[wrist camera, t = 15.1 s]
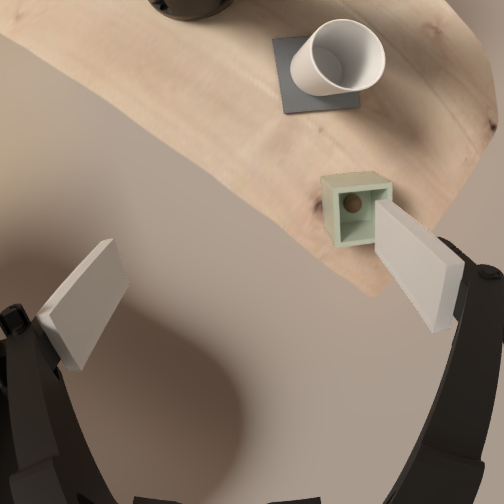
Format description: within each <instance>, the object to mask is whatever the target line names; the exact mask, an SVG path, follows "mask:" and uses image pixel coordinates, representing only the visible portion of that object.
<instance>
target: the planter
mask: <svg viewBox="0 0 504 504" xmlns="http://www.w3.org/2000/svg"><path fill="white" fill-rule="evenodd" d="M320 179H321V191H322V204H323V218H324V229H325V230H326V232H327V234H328V236H329V237H330V239H331V241H332V243H333V245H334V246H335V248H342V247H349V246H356V245H364V244H371V243H375V201H376V200H386V199H389V200H391V201H392V182H391V181H389V180H387V179H386V178H384V177H382V176H381V175H379V174H377V173H375V172H374V171H365V172H353V173H343V174H333V175H323V176H320ZM351 194H354V195H357V196H358V197H359V198H360V199H361V201H362V207H361V209H360V210H359V211H358V212H356V213H350V212H348V211H346V209H345V208H344V205H343V202H344V199H345V198H346V197H347V196H348V195H351Z"/></svg>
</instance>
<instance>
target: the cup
mask: <svg viewBox="0 0 504 504" xmlns="http://www.w3.org/2000/svg"><path fill="white" fill-rule="evenodd" d="M385 62H386V59H385V52H384V49H383V46H382V44H381V42H380V40H379V39H378V37H377V36H376V35H375V34H374V33H373V32H372V31H371V30H370V29H369V28H368V27H366V26H365V25H363V24H361V23H359V22H356V21H353V20H348V19H336V20H332V21H329V22H327V23H325V24H323V25H322V26H320V27H319V28H318V29H317V30H316V31H315V32H314V33H313V35H312V36H311V37H310V38H309V39H308V40H307V41H306V43H305V44H304V45H303V46H302V47H301V48H300V49H299V51H298V52H297V53H296V54H295V55H294V57H293V59H292V61H291V65H290V72H291V76H292V79H293V81H294V83H295V84H296V85H297V86H298V87H299V88H300V89H301V90H302V91H304V92H305V93H307V94H310V95H313V96H326V95H332V94H339V93H346V92H354V91H360V90H364V89H367V88H369V87H371V86H372V85H374V84H375V83H376V82H377V81H378V80H379V79H380V77H381V76H382V74H383V72H384V69H385Z"/></svg>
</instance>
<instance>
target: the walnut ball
mask: <svg viewBox="0 0 504 504" xmlns="http://www.w3.org/2000/svg"><path fill="white" fill-rule="evenodd" d="M343 205H344V208H345V209H346V211H348V212H350V213H356V212H358V211H359V210H360V209H361V207H362V201H361V199H360V198H359V197H358V196H357V195H354V194H351V195H348V196H347V197H346V198H345V199H344V202H343Z"/></svg>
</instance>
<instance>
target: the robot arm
mask: <svg viewBox="0 0 504 504" xmlns="http://www.w3.org/2000/svg"><path fill="white" fill-rule="evenodd" d="M148 1H149V3H150V4H151V5H152V6H153V7H154V8H155V9H156V10H157V11H158V12H160V13H161V14H163V15H164V16H167V17H169V18H172V19H176V20H185V21H190V20H199V19H203V18H207V17H210V16H213V15H215V14H217V13H219V12H221V11H222V10H224V9H225V8H227V7H228V6H229V5H230V4H231V3H232V2H233V1H234V0H148ZM375 253H376V254H377V255H378V257H379V258H380V259H381V261H382V262H383V263H384V265H385V266H386V267H387V269H388V270H389V271H390V273H391V274H392V276H393V277H394V278H395V280H396V281H397V282H398V284H399V285H400V287H401V288H402V289H403V291H404V292H405V294H406V295H407V297H408V298H409V299H410V301H411V302H412V304H413V305H414V307H415V308H416V309H417V311H418V313H419V314H420V316H421V317H422V318H423V320H424V321H425V323H426V325H427V326H428V328H429V329H430V331H431V332H432V334H434V333H438V332H441V331H445V330H448V329H450V326H451V322H452V318H453V316H454V317H455V318H456V320H457V321H458V326H457V330H456V333H455V336H454V339H453V342H452V348H451V351H450V354H449V358H448V361H447V365H446V368H445V371H444V374H443V377H442V380H441V382H440V385H439V388H438V391H437V394H436V397H435V399H434V402H433V405H432V407H431V409H430V412H429V414H428V417H427V419H426V421H425V424H424V426H423V428H422V431H421V433H420V435H419V437H418V440H417V442H416V444H415V446H414V448H413V450H412V452H411V454H410V456H409V458H408V460H407V462H406V465H405V466H404V468H403V470H402V472H401V474H400V475H399V477H398V479H397V481H396V483H395V485H394V486H393V488H392V490H391V491H390V493H389V494H388V496H387V498H386V499H385V501H384V502H383V504H473V502H474V499H475V497H476V494H477V492H478V489H479V486H480V483H481V480H482V477H483V473H484V469H485V463H484V462H483V461H481V454H482V450H483V447H484V443H485V440H486V436H487V432H488V428H489V424H490V420H491V415H492V411H493V406H494V401H495V395H496V390H497V384H498V377H499V370H500V361H501V353H502V343H503V344H504V275H503V273H502V272H501V271H500V270H499V269H497V268H495V267H493V266H490V265H485V264H480V265H476V264H475V263H474V262H473V261H472V260H471V259H470V258H469V257H467V256H466V255H465V254H464V253H462V251H460V250H459V249H458V248H456V246H455V245H453V244H452V243H451V242H450V241H448V240H446V239H444V238H441V237H436V236H434V235H433V234H432V233H431V232H430V231H429V230H427V229H426V228H425V227H424V226H423V225H421V224H420V223H419V222H418V221H416V220H415V219H414V218H413V217H411V216H410V215H409V214H408V213H406V212H405V211H404V210H402V209H401V208H400V207H399V206H397V205H396V204H395V203H393V202H392V201H391V200H389V199H386V200H376V201H375ZM129 285H130V283H129V280H128V277H127V274H126V272H125V269H124V266H123V263H122V260H121V257H120V254H119V251H118V248H117V245H116V243H115V239H114V238H113V239H108V240H102V241H101V242H100V243H99V244H98V245H97V246H96V247H95V248H94V249H93V250H92V251H91V253H90V254H89V255H88V256H87V257H86V258H85V259H84V260H83V261H82V262H81V263H80V265H78V266H77V268H76V269H75V270H74V271H73V272H72V273H71V274H70V275H69V277H68V278H67V279H66V280H65V281H64V282H63V283H62V284H61V285H60V287H59V288H58V289H57V290H56V291H55V293H54V294H53V295H52V296H51V297H50V298H49V300H48V301H47V302H46V303H45V304H44V305H43V307H42V308H41V309H40V310H39V312H38V313H37V314H36V316H35V317H34V319H33V320H32V321H31V322H30V320H29V318H28V316H27V314H26V312H25V310H24V309H23V306H22V305H21V304H13V305H11V306H9V307H7V308H6V309H4V310H3V311H2V312H1V313H0V326H1V328H2V330H3V332H4V333H5V335H6V337H7V338H6V339H3V340H0V504H118V503H117V502H116V500H115V499H114V498H113V496H112V494H111V492H110V491H109V489H108V487H107V485H106V483H105V481H104V479H103V477H102V475H101V473H100V471H99V469H98V467H97V465H96V463H95V461H94V458H93V456H92V454H91V452H90V450H89V447H88V445H87V443H86V441H85V438H84V435H83V433H82V431H81V428H80V426H79V423H78V420H77V418H76V415H75V412H74V410H73V407H72V404H71V401H70V398H69V395H68V392H67V389H66V386H65V383H64V380H63V376H62V373H61V371H60V370H59V368H58V367H57V365H58V363H59V361H60V360H61V361H62V362H63V364H64V366H65V367H66V369H67V370H72V371H82V369H83V367H84V365H85V363H86V361H87V359H88V358H89V356H90V354H91V352H92V350H93V348H94V346H95V345H96V343H97V341H98V339H99V337H100V335H101V334H102V332H103V330H104V328H105V326H106V324H107V323H108V321H109V319H110V317H111V316H112V314H113V312H114V310H115V309H116V307H117V305H118V303H119V302H120V300H121V298H122V297H123V295H124V293H125V292H126V290H127V288H128V287H129ZM133 504H181V503H178V502H175V501H165V500H157V499H149V498H142V497H136V496H135V497H134V500H133ZM268 504H321V500H320V497H316V498H309V499H302V500H293V501H283V502H272V503H268Z"/></svg>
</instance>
